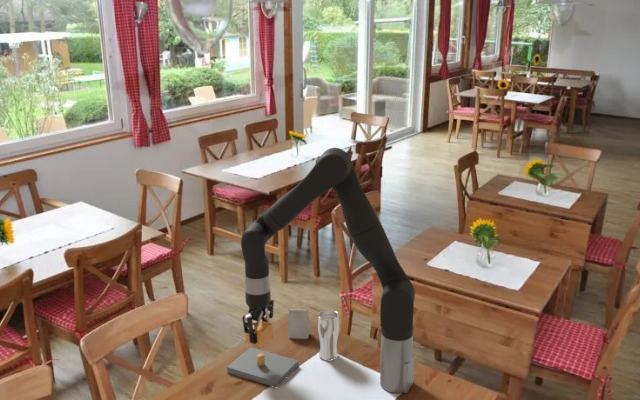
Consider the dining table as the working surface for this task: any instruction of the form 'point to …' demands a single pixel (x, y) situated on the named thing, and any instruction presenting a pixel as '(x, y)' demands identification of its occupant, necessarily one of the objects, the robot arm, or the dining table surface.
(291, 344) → the dining table surface
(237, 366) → the board
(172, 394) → the dining table surface
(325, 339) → the beer glass
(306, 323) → the grey cardboard box
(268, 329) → the matte orange cube
